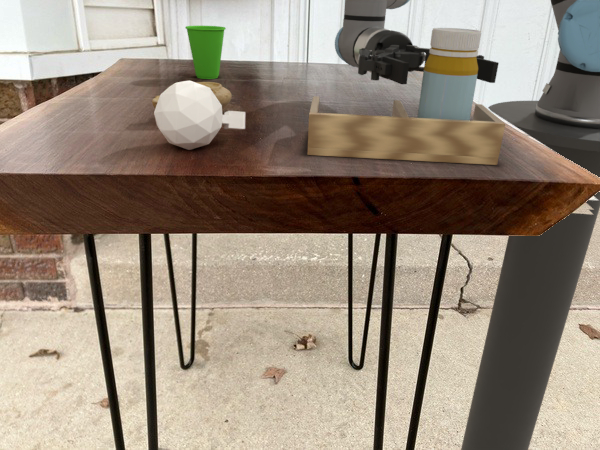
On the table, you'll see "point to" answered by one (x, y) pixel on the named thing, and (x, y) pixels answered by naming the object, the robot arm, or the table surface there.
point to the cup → (206, 49)
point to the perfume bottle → (193, 115)
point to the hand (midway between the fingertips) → (451, 73)
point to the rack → (406, 136)
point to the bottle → (450, 74)
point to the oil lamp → (217, 89)
